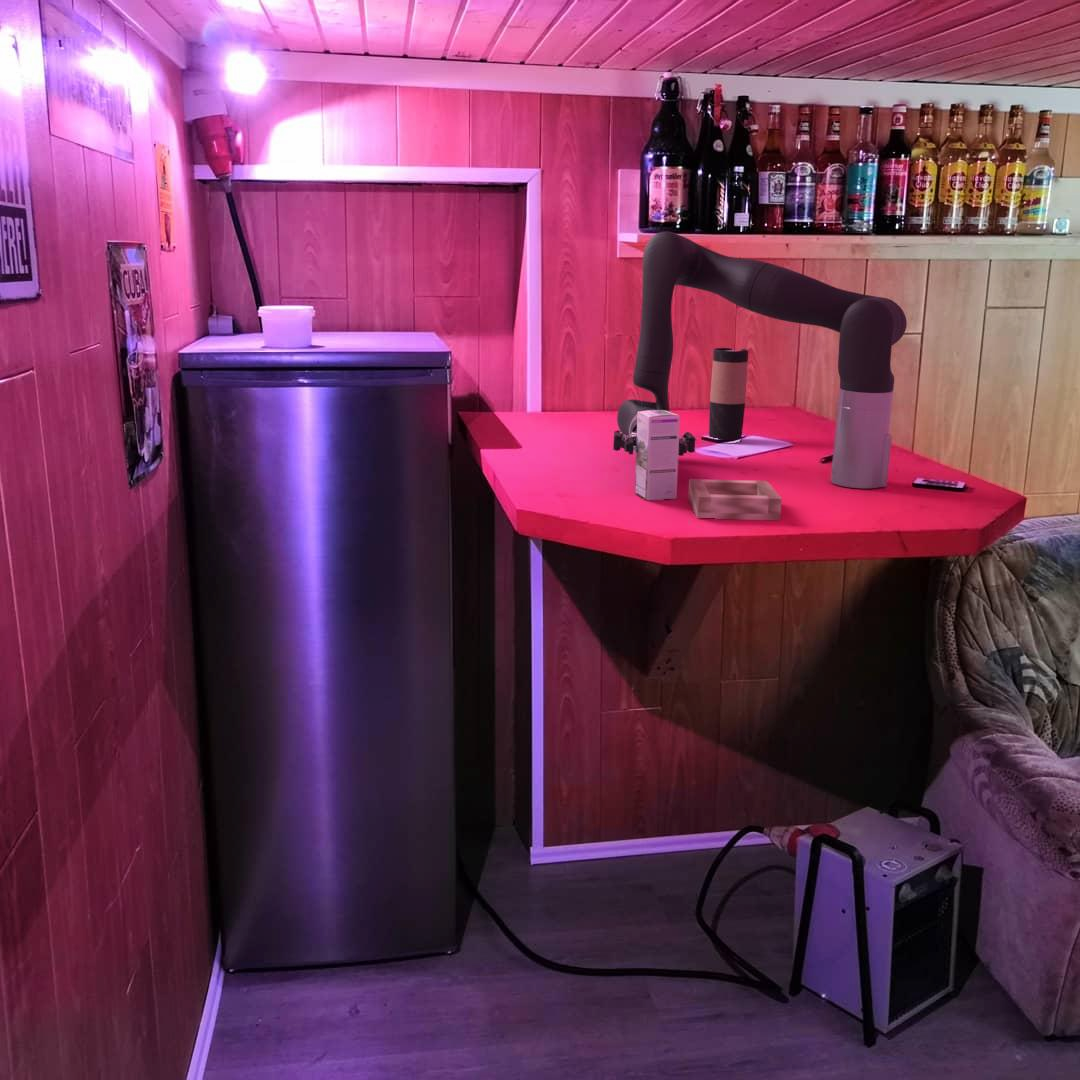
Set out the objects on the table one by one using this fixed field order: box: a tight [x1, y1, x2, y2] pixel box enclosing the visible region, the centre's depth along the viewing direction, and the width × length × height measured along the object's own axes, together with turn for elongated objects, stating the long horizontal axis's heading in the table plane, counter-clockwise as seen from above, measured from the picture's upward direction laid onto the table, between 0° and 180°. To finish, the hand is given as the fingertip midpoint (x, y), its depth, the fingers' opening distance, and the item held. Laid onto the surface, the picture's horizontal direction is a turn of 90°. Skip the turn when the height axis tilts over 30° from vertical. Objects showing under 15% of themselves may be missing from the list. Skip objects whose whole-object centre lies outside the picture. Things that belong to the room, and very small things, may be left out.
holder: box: [687, 478, 783, 521], centre depth 172 cm, size 13×13×4 cm
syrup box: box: [634, 410, 681, 501], centre depth 178 cm, size 6×6×14 cm
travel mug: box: [708, 347, 749, 440], centre depth 231 cm, size 8×8×20 cm
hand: (656, 449), depth 179 cm, fingers open, 8 cm apart
